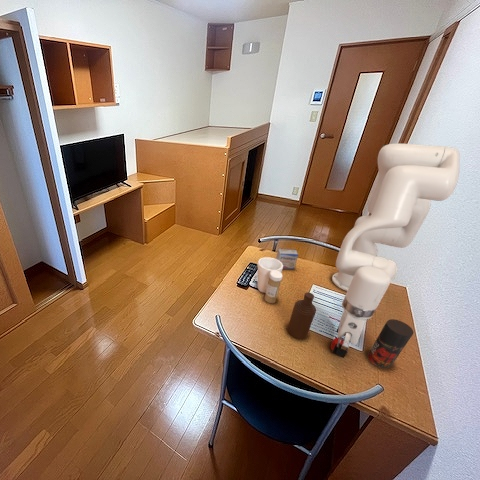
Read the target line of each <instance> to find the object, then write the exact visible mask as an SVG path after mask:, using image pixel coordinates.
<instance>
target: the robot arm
mask: <svg viewBox="0 0 480 480" xmlns="http://www.w3.org/2000/svg"><path fill="white" fill-rule="evenodd" d="M460 157H461V156H460V151H459V150H458V149H457V148H456V147H452V146H444V145H432V144H431V145H427V144H417V143H416V144H415V143H388V144H385V145H383V146H382V147H381V148H380V150H379V152H378V155H377V168H378V169H377V170H378V176H377V177H378V178H377V181H376V183H375V185H374V188H373V190H372V193H371V195H370V197H369V200H368V203H367V212H368V213H369V214H370V215H362V216H359V217H357V219H356V220H355V223H354V225H353V227H352V229H350V230H349V231H348V232H347V234H346V235H345V236H344V238H343V240H342V242H341V246H340V248H339V250H338V253H337V257H336V260H335V268H336V269H337V271H338V272H335V273H334V274H332V277H331V281H332V283H334V285H335V286H336V287H337V288H339V289H341V290H342V291H345V292H346V293H345V295H344V297H343V300H342V302H341V308H342V309H343V311H342V313H341V316H340V319H339V324H338V326H337V328H336V330H335V331H336V333H337V336H336V338H339V340H338V343H337V344H336V345H335V347H334V349H333V350H332V351H331V353H332V354H333V355H334V356H337V357H339V358H342V359H344V358H345V357H346V356H347V353H348V352H349V348H350V345H353V346H355V345H357V343H358V341H359V339H360V336H361V334H362V333H363V330H364V328H365V325H366V322H367V320H369V319H371V318H373V316H374V315H375V312H376V310H377V308H378V307H379V305H380V302H381V301H382V299H383V297H384V296H385V294H386V292H387V290H388V288H389V286H390V285H391V282H392V281H393V280H395V278H396V276H397V274H398V271H399V268H398V265H397V263H396V262H395V261H394V260H392V259H389V258H386V257H384V256H383V257H382V256H378V254H379V250H378V247H377V245H376V244H381V245H385V246H390V247H394V248H400V249H403V248H407V247H408V246H410V245H411V244H412V243H413V241H414V239H415V237H416V235H417V234H418V232H419V231H420V228H421V227H422V225H423V223H424V221H425V220H426V218H427V216H428V214H429V212H430V209H431V205H432V202H431V201H433V202H434V201H435V202H442V201H445V200H447V199H449V198H450V197H451V195H452V194H453V193H454V192H455V189H456V187H457V185H458V181H459V177H460ZM341 340H344V341H343V344H340V342H341Z"/></svg>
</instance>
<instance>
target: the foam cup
mask: <svg viewBox="0 0 480 480" xmlns="http://www.w3.org/2000/svg"><path fill="white" fill-rule="evenodd" d="M256 266H257V282H256V283H257V290H258V291H259V292H261V293H264V294H266V289H267V285H268V281H269V274H270V272H271V271H279V272H281V273H282V272H283V270H284V269H283V264H282V263H281V262H280V261H279V260H277V259H276V257H275V258H274V257H269V256H264V257H261V258H259V259H258V261H257V265H256Z"/></svg>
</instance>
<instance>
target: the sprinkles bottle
mask: <svg viewBox="0 0 480 480" xmlns="http://www.w3.org/2000/svg"><path fill="white" fill-rule="evenodd" d="M282 279H283V273H282V272H279V271H271V272H270V274H269V281H268V285H267V289H266V293H264V298H263V299H264V301H266V302H267V303H270V304H275V303H276V302H277V297H278V294H279V290H280V286H281V282H282Z"/></svg>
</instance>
